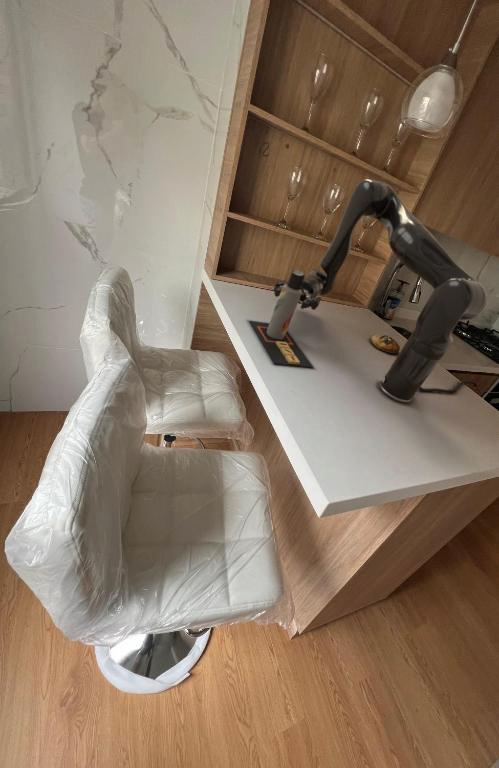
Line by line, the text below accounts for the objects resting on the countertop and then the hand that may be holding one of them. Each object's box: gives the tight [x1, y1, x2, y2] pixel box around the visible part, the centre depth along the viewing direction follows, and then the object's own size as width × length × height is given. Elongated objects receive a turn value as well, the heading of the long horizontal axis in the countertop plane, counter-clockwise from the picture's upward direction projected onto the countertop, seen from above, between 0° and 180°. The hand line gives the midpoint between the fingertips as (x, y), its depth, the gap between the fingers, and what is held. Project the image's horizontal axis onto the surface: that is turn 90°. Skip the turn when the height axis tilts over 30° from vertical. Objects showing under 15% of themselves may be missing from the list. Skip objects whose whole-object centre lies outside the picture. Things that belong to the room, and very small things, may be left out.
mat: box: [249, 320, 314, 369], centre depth 97 cm, size 24×12×1 cm, turn 17°
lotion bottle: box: [267, 269, 306, 340], centre depth 95 cm, size 6×6×20 cm
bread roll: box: [370, 333, 401, 354], centre depth 121 cm, size 11×11×5 cm
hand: (289, 299), depth 95 cm, fingers open, 8 cm apart
